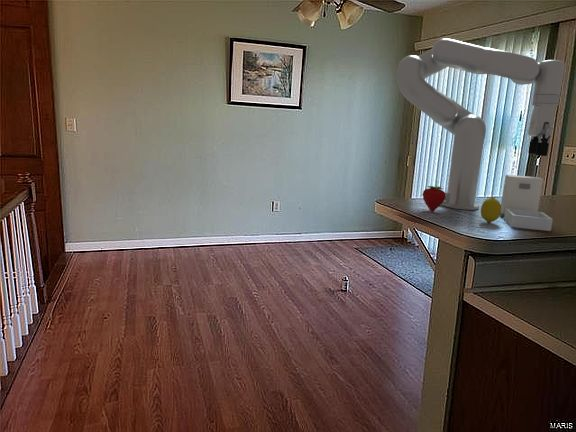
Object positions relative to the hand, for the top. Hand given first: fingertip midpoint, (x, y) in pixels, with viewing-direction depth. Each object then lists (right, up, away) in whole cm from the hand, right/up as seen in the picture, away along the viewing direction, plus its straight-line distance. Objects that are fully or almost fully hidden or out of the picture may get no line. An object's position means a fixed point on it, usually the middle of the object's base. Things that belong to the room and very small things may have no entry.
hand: (537, 154), depth 152 cm
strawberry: (-35, -19, 0) cm, 39 cm away
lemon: (-22, -23, -13) cm, 34 cm away
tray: (-10, -23, -13) cm, 28 cm away
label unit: (-7, -21, -1) cm, 22 cm away
